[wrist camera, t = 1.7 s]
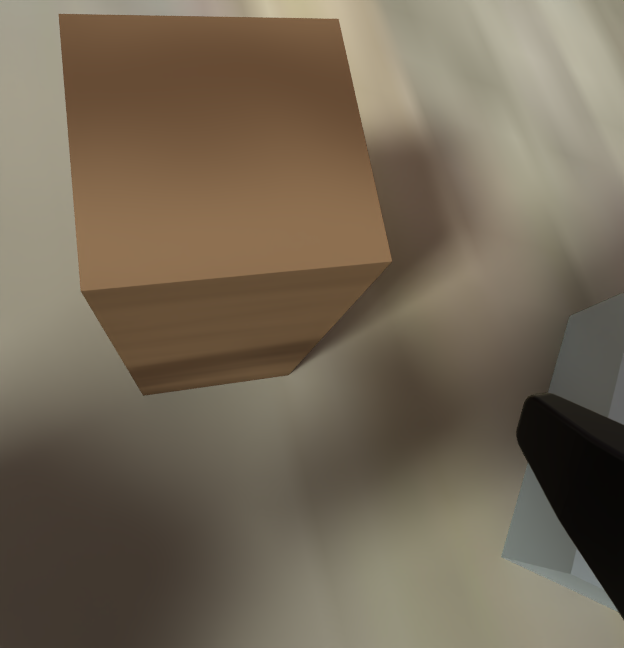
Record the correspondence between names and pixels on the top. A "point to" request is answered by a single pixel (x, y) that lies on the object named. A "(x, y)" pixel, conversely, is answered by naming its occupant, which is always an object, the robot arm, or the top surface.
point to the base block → (596, 395)
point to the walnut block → (217, 191)
